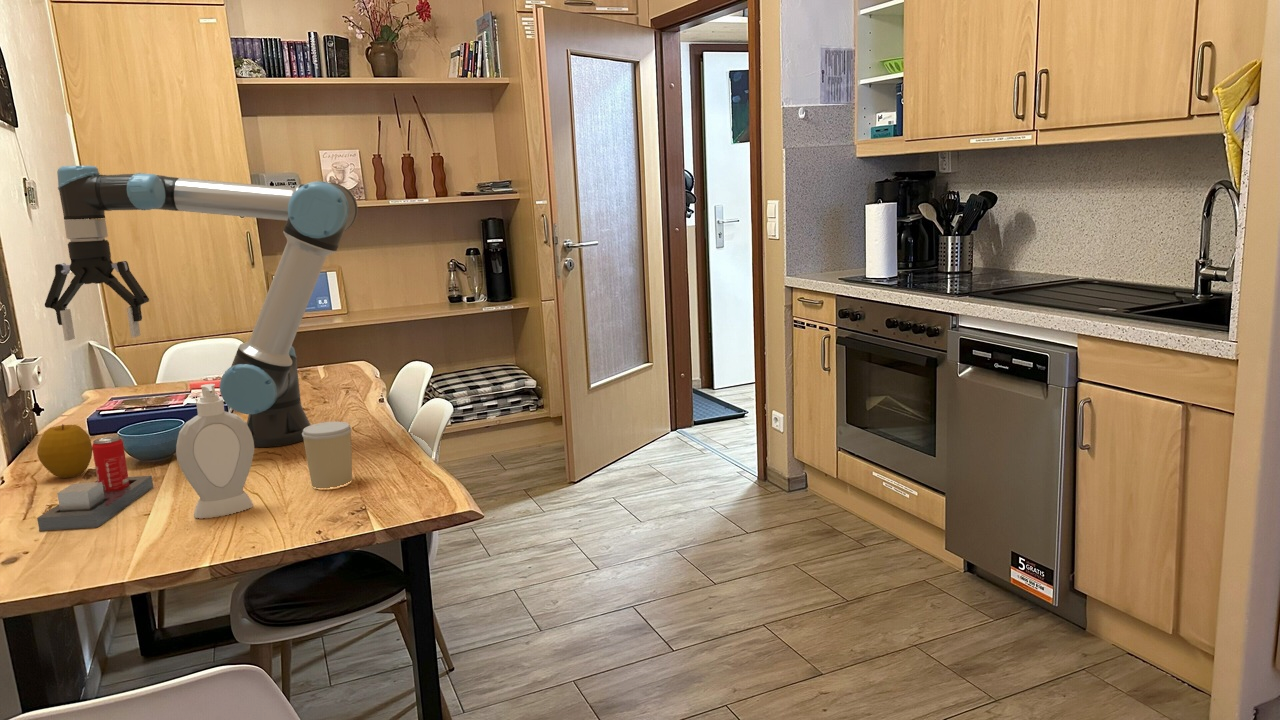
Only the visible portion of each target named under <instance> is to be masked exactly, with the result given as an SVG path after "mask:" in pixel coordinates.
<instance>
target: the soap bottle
mask: <svg viewBox="0 0 1280 720" xmlns="http://www.w3.org/2000/svg"><path fill="white" fill-rule="evenodd" d="M215 386H216V384H215V383H206V384H201V385H200V388H201V392H202V393H201V394H202V395H201V396H199V400H198V401H196V410H197V415H195V416H193V417H192V418H191V419H189V420H188V421H186V422H185V423H184V424H183V426H182V427H181V429H180V430H179V432H178V435H177V440H176V445H175V449H176V450H175V453H176V454H175V455H176V460H177V463H178V467H179V468H180V470H181V472H182V473H183V475H184V477H185V479H186V480H187V482H188V483H189V484H190V486H191V487H192V489H193V490H194V491H195V493H196V494H197V495H198V496H199V499H198V501H197V503H196V505H195V508H194V511H193V517H194V518H195V519H198V518H199V519H201V520H204V519H203V518H205V519H213V518H212V517H215V518H220V517H219V516H221V517H226V516H225V515H227V516H230V515H229V514H231V515H234V514H233V513H235V514H237V513H236V512H239V513H241V512H240V511H242V512H244V511H243V510H245V511H247V510H246V509H248V510H249V508H250V509H251V508H253V506H254V503H253V501H252V499H251V498H250V496H249V495H248V493H247V492H246V491H244V487H245V484H246V482H247V480H248V479H247V478H248V477H249V474H250V470H251V467H252V462H253V460H254V456H255V455H254V454H255V447H254V440H253V437H252V433H251V431H250V429H249V427H248V425H247V421H246V420H245V419H243V418H242V417H240V416H239V414H235V413H233V412H228V411H225V404H224V403H225V402H224V400H223V398H222V397H220V396H219V394H216V390H215V389H216V388H215Z"/></svg>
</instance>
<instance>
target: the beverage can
mask: <svg viewBox="0 0 1280 720" xmlns="http://www.w3.org/2000/svg"><path fill="white" fill-rule="evenodd" d="M92 443H93V444H92V449H93V450H92V456H93V459H94V466H95V473H96V478H97V480H98V482H102V485H103V491H119V490H123V489H124V488H126V487H127V486H129V478H128V477H129V473H128V466H127V460H126V454H125V453H126V452H125V447H124V441H123V439H122V437H121V436H117V435H116V436H115V435H114V436H104V437H101V438H96V439H94V440H93V442H92ZM97 480H96V481H97Z"/></svg>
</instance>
